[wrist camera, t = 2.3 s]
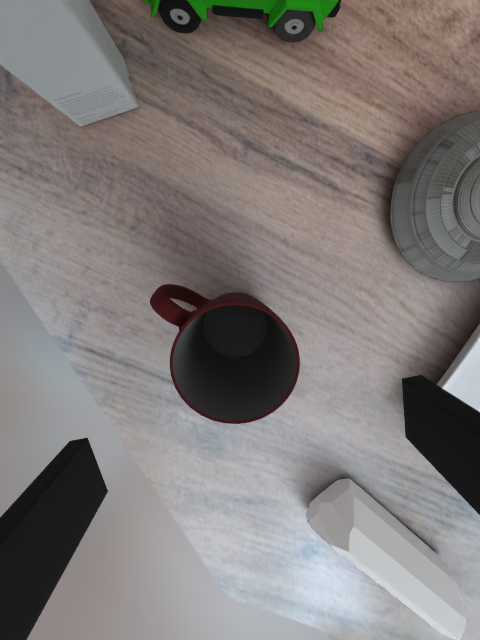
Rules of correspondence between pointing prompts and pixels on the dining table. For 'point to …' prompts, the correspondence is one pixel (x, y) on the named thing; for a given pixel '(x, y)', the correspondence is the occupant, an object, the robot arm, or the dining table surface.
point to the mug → (228, 354)
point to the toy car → (250, 14)
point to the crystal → (389, 554)
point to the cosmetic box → (65, 57)
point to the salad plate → (465, 373)
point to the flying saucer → (441, 202)
